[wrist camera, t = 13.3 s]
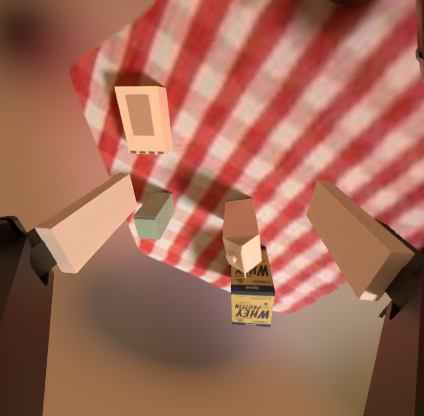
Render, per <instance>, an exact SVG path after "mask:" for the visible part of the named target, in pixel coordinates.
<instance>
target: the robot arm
mask: <svg viewBox="0 0 424 416" xmlns="http://www.w3.org/2000/svg"><path fill="white" fill-rule="evenodd" d="M332 1H333V2H335V3H338V4H341V5H358V4H362V3H365V2H367V1H369V0H332ZM416 23H417V46H418V48H417V50H416V58H417V60H418V61H419V64H420V73H421V81H422V83H423V85H424V0H416ZM136 207H137V203H136V199H135V195H134V190H133V186H132V182H131V178H130V174H123V173H119V174H118V175H116V176H115V177H113V178H111V179H110V180H108V181H107V182H105V183H104V184H102V185H101V186H99V187H97V188H96V189H95V190H93V191H91V192H90V193H88V194H86V195H85V196H83V197H82V198H80V199H79V200H77V201H75V202H74V203H72V204H71V205H69V206H68V207H66V208H65V209H63V210H61V211H60V212H58V213H57V214H55V215H54V216H52V217H50V218H49V219H47V220H46V221H44V222H43V223H41V224H39V225H38V226H36V227H35V228H34V229H32V230H31V231H29V232H26V230H25V229H24V227H23V226H22V224H21V223H20V221H19V220H18V218H17V217H15V216H6V217H0V416H42V414H43V402H44V390H45V378H46V366H47V354H48V342H49V330H50V317H51V305H52V293H53V280H54V273H53V271H52V269H51V268H52V267H53V266H55V265H56V264H58V266H59V268H60V269H61V271H62V272H67V273H77V272H78V271H79V270H80V269H81V268H82V267H83V266H84V264H85V263H86V262H87V261H88V260H89V259H90V258H91V257H92V256H93V254H94V253H95V252H96V251H97V250H98V249H99V248H100V247H101V246H102V245H103V243H104V242H105V241H106V240H107V239H108V238H109V237H110V236H111V235H112V233H114V231H115V230H116V229H117V228H118V227H119V226H120V225H121V224H122V223H123V221H124V220H125V219H126V218H127V217H128V216H129V215H130V214H131V213H132V212H133V211H134V209H135V208H136ZM307 217H308V219H309V220H310V222H311V223H312V225H313V227H314V228H315V230H316V231H317V233H318V235H319V236H320V238H321V239H322V241H323V243H324V244H325V246H326V247H327V249H328V251H329V252H330V254H331V255H332V257H333V259H334V260H335V262H336V263H337V265H338V267H339V268H340V270H341V271H342V273H343V275H344V276H345V278H346V279H347V281H348V282H349V284H350V286H351V287H352V289H353V290H354V292H355V294H356V295H357V297H358V298H359V299H363V300H374V301H378V300H379V299H380V298H381V297H382V295H383V294H384V293H385V292H386V293H387V294H388V295H389V297H390V298H391V299H392V301H391V302H390V303H389V304H388V305H387V306H386V308H385V309H384V310H383V311H382V312H381V314H380V315H379V317H381V318H382V317H383V316H384V315H385V319H384V324H383V328H382V333H381V337H380V342H379V346H378V351H377V356H376V360H375V365H374V369H373V374H372V378H371V383H370V388H369V392H368V397H367V401H366V406H365V410H364V415H363V416H424V255H423V254H422V253H420V252H419V251H418V250H417V249H416V248H414V247H413V246H412V245H411V244H409V243H408V242H407V241H406V240H403V238H402V237H401V236H400V235H398V234H396V232H395V231H394V230H392V229H391V228H390V227H389V226H387V225H386V224H384V223H382V222H380V221H378V220H376V219H374V218H372V217H371V216H370V215H369V214H368V213H367V212H365V211H364V210H363V209H362V208H361V207H359V206H358V205H357V204H356V203H355V202H354V201H352V200H351V199H350V198H349V197H348V196H347V195H345V194H344V193H343V192H342V191H341V190H339V189H338V188H337V187H336V186H335V185H334V184H332V183H331V182H330V181H317V183H316V187H315V190H314V193H313V196H312V199H311V202H310V206H309V209H308V212H307Z"/></svg>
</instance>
